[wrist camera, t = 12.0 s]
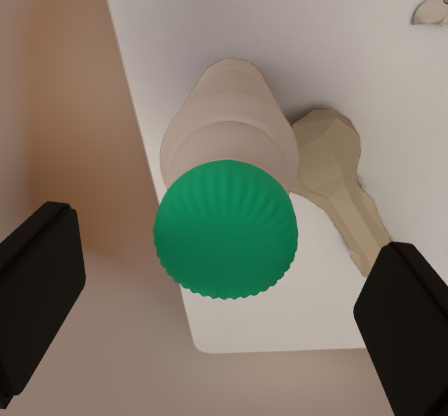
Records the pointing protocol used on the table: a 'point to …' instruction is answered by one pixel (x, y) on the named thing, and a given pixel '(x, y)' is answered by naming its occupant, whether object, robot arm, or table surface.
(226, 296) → the water bottle
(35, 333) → the robot arm
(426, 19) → the flower
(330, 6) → the table surface
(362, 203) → the faceted club
